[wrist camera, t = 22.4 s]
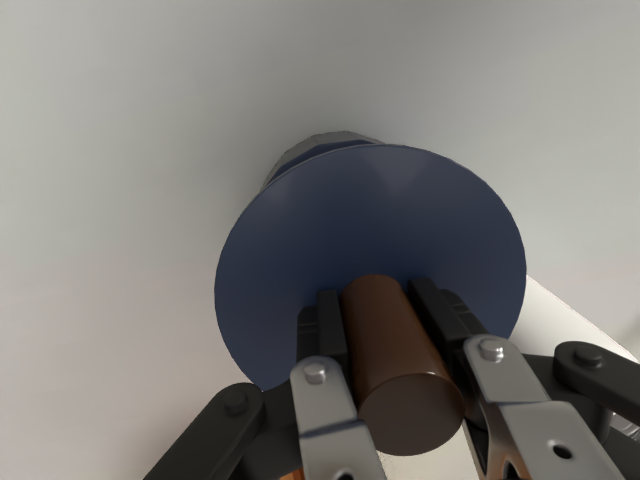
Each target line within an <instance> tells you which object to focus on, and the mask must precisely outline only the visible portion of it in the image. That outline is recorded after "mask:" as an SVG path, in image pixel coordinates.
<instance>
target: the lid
mask: <svg viewBox="0 0 640 480" xmlns="http://www.w3.org/2000/svg"><path fill="white" fill-rule="evenodd" d="M526 269H527V267H526V259H525V251H524V247H523V243H522V240H521V236H520V233H519V230H518V228H517V226H516V223H515V221H514V219H513V217H512V215H511V213H510V212H509V210H508V209H507V207H506V206H505V204H504V203H503V201H502V200H501V198H500V197H499V196H498V195H497V194H496V193H495V192H494V191H493V190H492V188H491V187H490V186H489V185H488V184H487V183H486V182H485V181H483V180H482V179H481V178H479V177H478V176H477V175H476V174H474V173H473V172H472V171H470V170H469V169H467V168H465V167H464V166H462V165H460V164H458V163H456V162H455V161H453V160H451V159H449V158H446V157H443V156H441V155H438V154H435V153H433V152H430V151H427V150H424V149H419V148H414V147H410V146H405V145H395V144H381V143H380V144H364V145H355V146H349V147H344V148H339V149H335V150H332V151H329V152H326V153H323V154H320V155H317V156H314V157H312V158H310V159H308V160H306V161H304V162H302V163H300V164H298V165H296V166H294V167H292V168H290V169H289V170H287V171H286V172H284V173H283V174H281V175H280V176H278V177H277V178H275V179H274V180H273V181H272V182H270V183H269V184H268V185H267V186H266V187H265V188H264V189H263V190H262V191H260V192H259V193H258V194H257V195H256V196H255V198H254V199H253V200H252V201H251V202H250V203H249V205H248V206H247V207H246V208H245V209H244V210H243V212H242V214H241V215H240V217H239V218H238V220H237V221H236V223H235V225H234V226H233V228H232V230H231V231H230V233H229V236H228V238H227V240H226V242H225V245H224V247H223V249H222V252H221V255H220V259H219V263H218V266H217V270H216V278H215V286H214V296H215V311H216V316H217V321H218V326H219V329H220V332H221V335H222V337H223V340H224V343H225V345H226V347H227V349H228V350H229V352H230V354H231V356H232V358H233V359H234V361H235V362H236V364H237V365H238V366H239V368H240V369H241V371H242V372H243V373H244V374H245V375H246V376H247V377H248V378H249V379H250V380H251V381H252V382H253V383H254V384H255V385H257V386H258V387H259V388H260V389H261V390H262V391H263V392H264V391H267V390H269V389H272V388H274V387H277V386H279V385H281V384H282V383H284V382H285V381H287V380H288V379H289V378H290V373H291V370H292V368H293V367H294V366H295V365H296V354H297V316H298V314H299V313H300V311H301V310H302V308H303V307H307V306H315V305H317V294H316V292H317V291H324V290H332V289H336V292H337V297H338V302H339V308H340V313H341V318H342V324H343V329H344V335H345V340H346V345H347V351H348V359H349V368H350V390H351V396H352V401H353V403H354V406H355V409H356V412H357V414H358V417H359V419H364V421H365V423H366V425H367V427H368V430H369V432H370V435H371V438H372V440H373V443H374V446H375V448H376V450H378V451H380V452H382V453H385V454H389V455H394V456H413V455H419V454H423V453H426V452H429V451H432V450H434V449H436V448H438V447H440V446H441V445H443V444H444V443H446V442H447V441H448V440H450V439H451V438H452V437H453V436H454V435H455V433H456V432H457V431H458V430H459V428H460V426H461V424H462V422H463V420H464V416H465V400H464V396H463V394H462V392H461V390H460V388H459V386H458V385H457V383H456V381H455V379H454V377H453V376H452V374H451V372H450V370H449V368H448V367H447V365H446V363H445V361H444V359H443V358H442V356H441V354H440V352H439V350H438V349H437V347H436V345H435V343H434V342H433V340H432V338H431V336H430V334H429V333H428V331H427V329H426V327H425V325H424V324H423V322H422V320H421V318H420V316H419V315H418V313H417V311H416V309H415V307H414V306H413V304H412V302H411V300H410V298H409V297H408V295H407V282H408V280H410V279H418V278H426V277H429V278H431V280H432V281H433V282H434V284H435V285H436V286H437V288H438V289H439V290H440V289H448V290H450V291H452V292H453V293H455V294H457V295H459V297H460V298H461V299H462V300H463V301H464V303H465V305H467V306H468V308H469V309H470V310H471V313H472V312H473V314H474V315H475V316H476V317H477V318H478V320H479V321H480V322H481V323H482V324H483V326H484V327H485V328H486V329H487V331H488V332H489V333H490V334H491V335H496V336H500V337H503V338H505V339H507V340H508V339H509V337H510V336H511V334H512V331H513V329H514V327H515V325H516V323H517V321H518V318H519V315H520V311H521V308H522V305H523V301H524V295H525V289H526Z"/></svg>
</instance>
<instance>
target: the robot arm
mask: <svg viewBox="0 0 640 480" xmlns="http://www.w3.org/2000/svg"><path fill="white" fill-rule="evenodd" d="M316 294H317V305H315V306H307V307H303V308H302V310H301V311H300V313H299V314H298V316H297V354H296V365H295V366H294V367H293V368H292V370H291V373H290V378H289V379H288V380H287V381H285V382H284V383H282V384H281V385H279V386H277V387H274V388H272V389H269V390H267V391H264V392H262V390H261V389H260V388H259V387H258V386H257V385H255V384H252V383H236V384H233V385H230V386H228V387H226V388H224V389H222V390H221V391H220V392H218V393H217V394H216V395H215V396H214V397H213V398H212V400H211V401H210V402H209V403H208V404H207V405H206V407H205V408H204V409H203V410H202V411H201V412H200V414H199V415H198V416H197V417H196V418H195V419H194V421H193V422H192V423H191V424H190V425H189V426H188V428H187V429H186V430H185V431H184V432H183V433H182V435H181V436H180V437H179V438H178V439H177V440H176V441H175V443H174V444H173V445H172V446H171V447H170V448H169V450H168V451H167V452H166V453H165V454H164V455H163V457H162V458H161V459H160V460H159V461H158V462H157V464H156V465H155V466H154V467H153V468H152V469H151V471H150V472H149V473H148V474H147V475H146V476H145V478H144V479H143V480H280V478H281V477H283V476H285V475H287V474H289V473H291V472H293V471H296V470H298V469H300V468H302V467H303V468H304V475H305V480H387V477H386V475H385V472H384V469H383V467H382V464H381V461H380V459H379V456H378V453H377V451H376V448H375V446H374V443H373V440H372V438H371V435H370V432H369V430H368V427H367V425H366V423H365V421H364V419H359V417H358V414H357V412H356V409H355V406H354V403H353V401H352V396H351V390H350V368H349V359H348V351H347V345H346V340H345V335H344V329H343V324H342V318H341V313H340V308H339V302H338V297H337V292H336V289H332V290H324V291H317V292H316ZM407 295H408V297H409V298H410V300H411V302H412V304H413V306H414V307H415V309H416V311H417V313H418V315H419V316H420V318H421V320H422V322H423V324H424V325H425V327H426V329H427V331H428V333H429V334H430V336H431V338H432V340H433V342H434V343H435V345H436V347H437V349H438V350H439V352H440V354H441V356H442V358H443V359H444V361H445V363H446V365H447V367H448V368H449V370H450V372H451V374H452V376H453V377H454V379H455V381H456V383H457V385H458V386H459V388H460V390H461V392H462V394H463V396H464V400H465V416H464V420H463V422H462V427H463V430H464V433H465V436H466V439H467V442H468V446H469V449H470V452H471V455H472V458H473V461H474V464H475V467H476V470H477V473H478V476H479V479H480V480H640V443H638V442H637V441H635V440H633V439H632V438H630V437H628V436H627V435H625V434H623V433H622V432H620V431H618V430H617V429H615V428H613V427H612V426H610V425H611V421H612V416H613V412H614V413H616V414H617V415H619V416H621V417H623V418H624V419H626V420H628V421H630V422H631V423H633V424H635V425H637V426H638V427H640V364H638V363H636V362H634V361H631V360H629V359H627V358H625V357H623V356H620V355H618V354H616V353H614V352H612V351H609V350H607V349H605V348H603V347H600V346H598V345H595V344H592V343H587V342H582V341H566V342H562V343H560V344H558V345H557V346H556V348H555V351H554V357H553V356H542V355H531V354H524V353H521V352H520V351H519V349H518V348H517V347H516V346H515V345H514V344H513V343H512V342H510V341H509V340H507V339H505V338H503V337H500V336H496V335H491V334H490V333H489V332H488V331H487V329H486V328H485V327H484V326H483V324H482V323H481V322H480V321H479V320H478V318H477V317H476V316H475V315H474V314H473V312H472V313H471V310H470V309H469V308H468V306H467V305H465V303H464V301H463V300H462V299H461V298H460V297H459V295H457V294H455V293H453V292H452V291H450V290H448V289H440V290H439V289H438V288H437V286H436V285H435V284H434V282H433V281H432V280H431V278H429V277H426V278H418V279H410V280H408V282H407Z"/></svg>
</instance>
